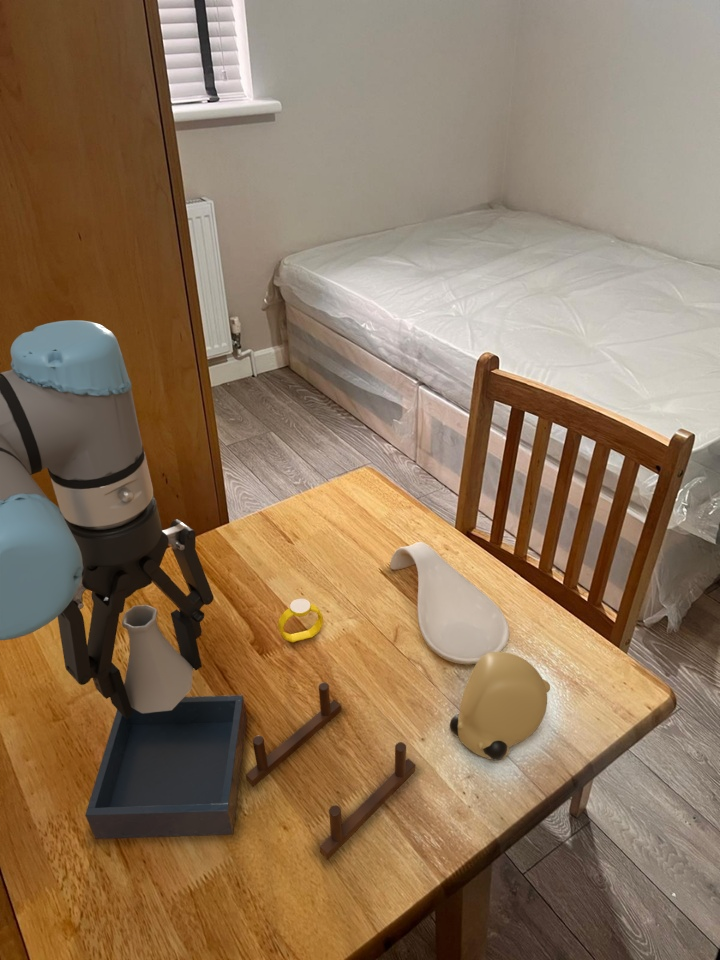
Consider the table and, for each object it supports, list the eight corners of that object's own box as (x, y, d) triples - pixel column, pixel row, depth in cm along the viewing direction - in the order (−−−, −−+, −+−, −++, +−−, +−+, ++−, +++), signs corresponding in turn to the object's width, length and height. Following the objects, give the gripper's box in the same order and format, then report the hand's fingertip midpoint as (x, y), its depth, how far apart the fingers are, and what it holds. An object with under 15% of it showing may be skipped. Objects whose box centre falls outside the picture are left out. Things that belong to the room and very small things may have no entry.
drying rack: (327, 860, 75) (324, 828, 72) (246, 780, 83) (240, 748, 79) (415, 770, 83) (416, 738, 80) (334, 705, 91) (332, 673, 87)
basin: (232, 834, 77) (227, 810, 75) (95, 839, 77) (84, 815, 75) (247, 719, 89) (243, 694, 87) (128, 723, 89) (120, 698, 87)
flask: (141, 654, 78) (122, 585, 72) (205, 664, 77) (190, 594, 71) (108, 709, 72) (85, 639, 67) (177, 721, 71) (158, 650, 65)
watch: (283, 650, 98) (280, 619, 95) (278, 636, 100) (274, 605, 97) (325, 637, 100) (323, 606, 97) (319, 624, 102) (317, 593, 99)
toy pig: (463, 723, 92) (420, 723, 84) (508, 640, 92) (468, 632, 84) (526, 773, 86) (486, 778, 78) (575, 684, 86) (539, 680, 77)
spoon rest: (524, 659, 96) (530, 620, 92) (446, 691, 92) (449, 652, 88) (434, 554, 114) (436, 517, 110) (366, 576, 110) (365, 540, 106)
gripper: (11, 587, 53) (85, 773, 66) (233, 471, 65) (259, 648, 78) (-31, 543, 57) (46, 725, 71) (184, 441, 69) (216, 613, 82)
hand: (158, 684), depth 74 cm, fingers closed on flask, 7 cm apart
